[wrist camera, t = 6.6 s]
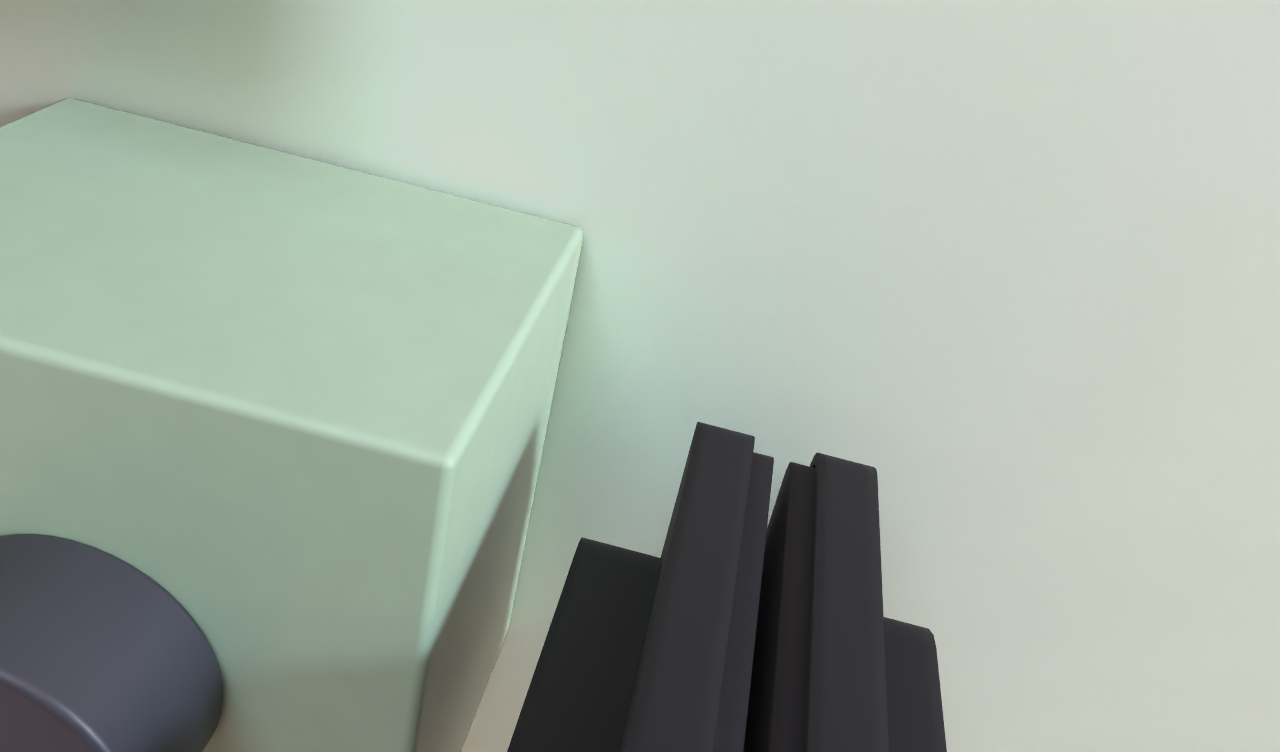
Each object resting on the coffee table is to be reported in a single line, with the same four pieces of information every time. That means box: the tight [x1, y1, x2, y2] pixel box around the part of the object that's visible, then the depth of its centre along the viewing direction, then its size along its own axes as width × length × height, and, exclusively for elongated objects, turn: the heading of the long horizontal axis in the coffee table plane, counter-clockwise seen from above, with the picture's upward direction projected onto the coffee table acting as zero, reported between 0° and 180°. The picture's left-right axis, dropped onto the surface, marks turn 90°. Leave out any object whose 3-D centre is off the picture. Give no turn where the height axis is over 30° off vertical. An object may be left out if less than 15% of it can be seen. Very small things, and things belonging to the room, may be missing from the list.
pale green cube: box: [0, 98, 583, 752], centre depth 9 cm, size 5×5×5 cm
